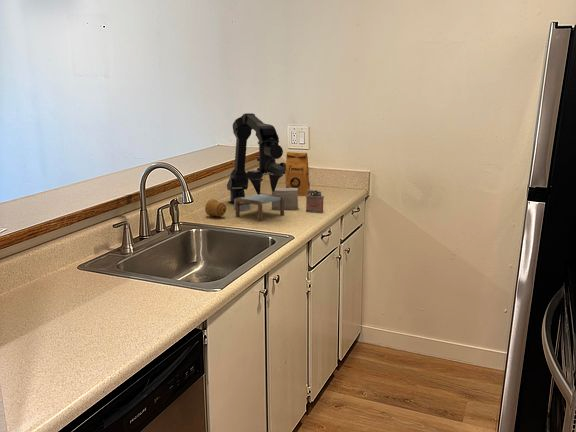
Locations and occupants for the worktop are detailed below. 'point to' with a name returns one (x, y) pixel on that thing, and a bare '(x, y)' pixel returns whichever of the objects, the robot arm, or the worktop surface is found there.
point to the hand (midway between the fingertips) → (266, 192)
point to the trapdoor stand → (245, 201)
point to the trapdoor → (262, 198)
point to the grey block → (286, 198)
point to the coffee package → (297, 172)
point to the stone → (243, 207)
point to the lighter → (314, 202)
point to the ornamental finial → (215, 208)
